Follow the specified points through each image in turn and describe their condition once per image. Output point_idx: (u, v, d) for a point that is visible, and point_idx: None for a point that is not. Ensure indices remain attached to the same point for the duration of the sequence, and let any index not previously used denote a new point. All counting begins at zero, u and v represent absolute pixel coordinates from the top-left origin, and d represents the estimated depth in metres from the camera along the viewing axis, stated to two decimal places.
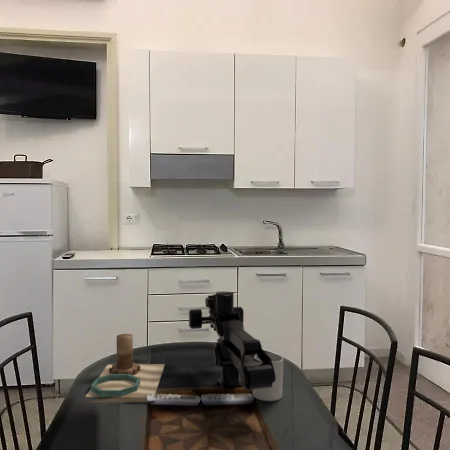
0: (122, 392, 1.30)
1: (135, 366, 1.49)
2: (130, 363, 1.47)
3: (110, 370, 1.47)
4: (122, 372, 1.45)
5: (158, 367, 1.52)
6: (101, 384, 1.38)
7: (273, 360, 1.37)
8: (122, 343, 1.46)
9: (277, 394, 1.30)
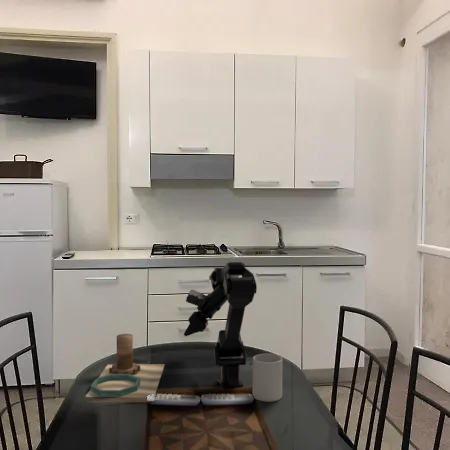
0: (122, 392, 1.30)
1: (135, 366, 1.49)
2: (130, 363, 1.47)
3: (110, 370, 1.47)
4: (122, 372, 1.45)
5: (158, 367, 1.52)
6: (101, 384, 1.38)
7: (272, 360, 1.37)
8: (122, 343, 1.46)
9: (277, 394, 1.30)
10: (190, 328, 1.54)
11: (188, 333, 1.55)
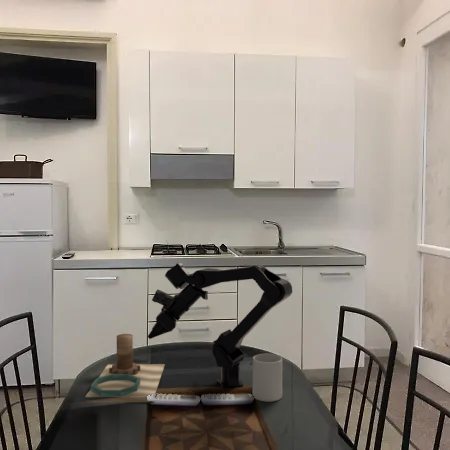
0: (122, 392, 1.30)
1: (135, 366, 1.49)
2: (130, 363, 1.47)
3: (110, 370, 1.47)
4: (122, 372, 1.45)
5: (158, 367, 1.52)
6: (101, 384, 1.38)
7: (272, 360, 1.37)
8: (122, 343, 1.46)
9: (277, 394, 1.30)
10: (156, 329, 1.43)
11: (153, 335, 1.43)
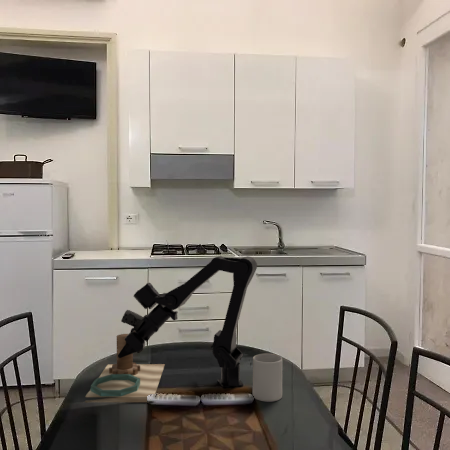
0: (122, 392, 1.30)
1: (135, 366, 1.49)
2: (130, 363, 1.47)
3: (110, 370, 1.47)
4: (122, 372, 1.45)
5: (158, 367, 1.52)
6: (101, 384, 1.38)
7: (272, 360, 1.37)
8: (122, 343, 1.46)
9: (277, 394, 1.30)
10: (126, 348, 1.45)
11: (123, 354, 1.45)
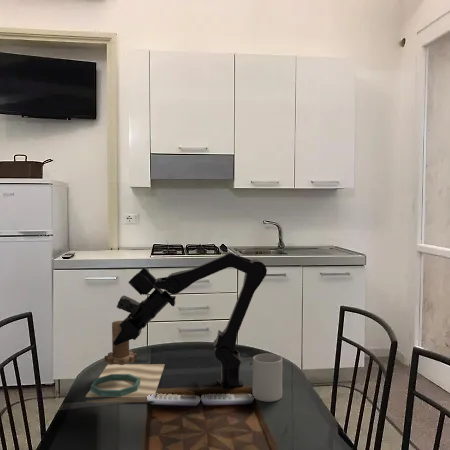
0: (122, 392, 1.30)
1: (132, 354, 1.43)
2: (126, 351, 1.41)
3: (105, 358, 1.41)
4: (118, 360, 1.38)
5: (158, 367, 1.52)
6: (101, 384, 1.38)
7: (272, 360, 1.37)
8: (118, 330, 1.39)
9: (277, 394, 1.30)
10: (121, 335, 1.38)
11: (118, 341, 1.39)
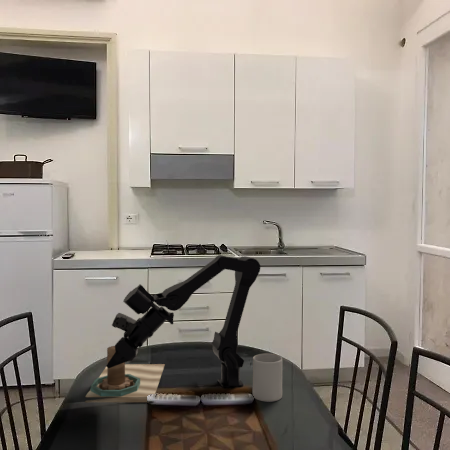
0: (122, 392, 1.30)
1: (128, 381, 1.36)
2: (122, 378, 1.34)
3: (100, 386, 1.34)
4: (113, 388, 1.32)
5: (158, 367, 1.52)
6: None
7: (272, 360, 1.37)
8: None
9: (277, 394, 1.30)
10: (115, 358, 1.30)
11: (112, 364, 1.30)
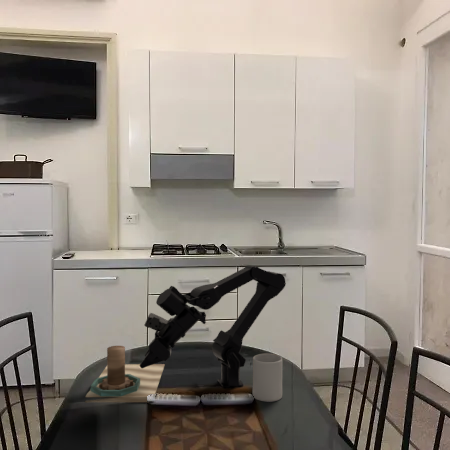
0: (122, 392, 1.30)
1: (128, 381, 1.36)
2: (122, 378, 1.34)
3: (100, 386, 1.34)
4: (113, 388, 1.32)
5: (158, 367, 1.52)
6: None
7: (272, 360, 1.37)
8: (113, 356, 1.33)
9: (277, 394, 1.30)
10: (149, 358, 1.30)
11: (146, 364, 1.30)
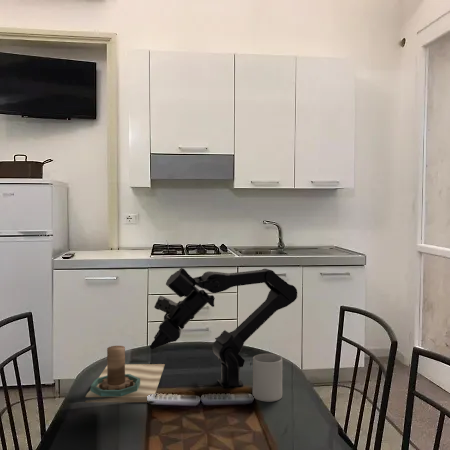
0: (122, 392, 1.30)
1: (128, 381, 1.36)
2: (122, 378, 1.34)
3: (100, 386, 1.34)
4: (113, 388, 1.32)
5: (158, 367, 1.52)
6: None
7: (272, 360, 1.37)
8: (113, 356, 1.33)
9: (277, 394, 1.30)
10: (159, 339, 1.32)
11: (156, 345, 1.33)
